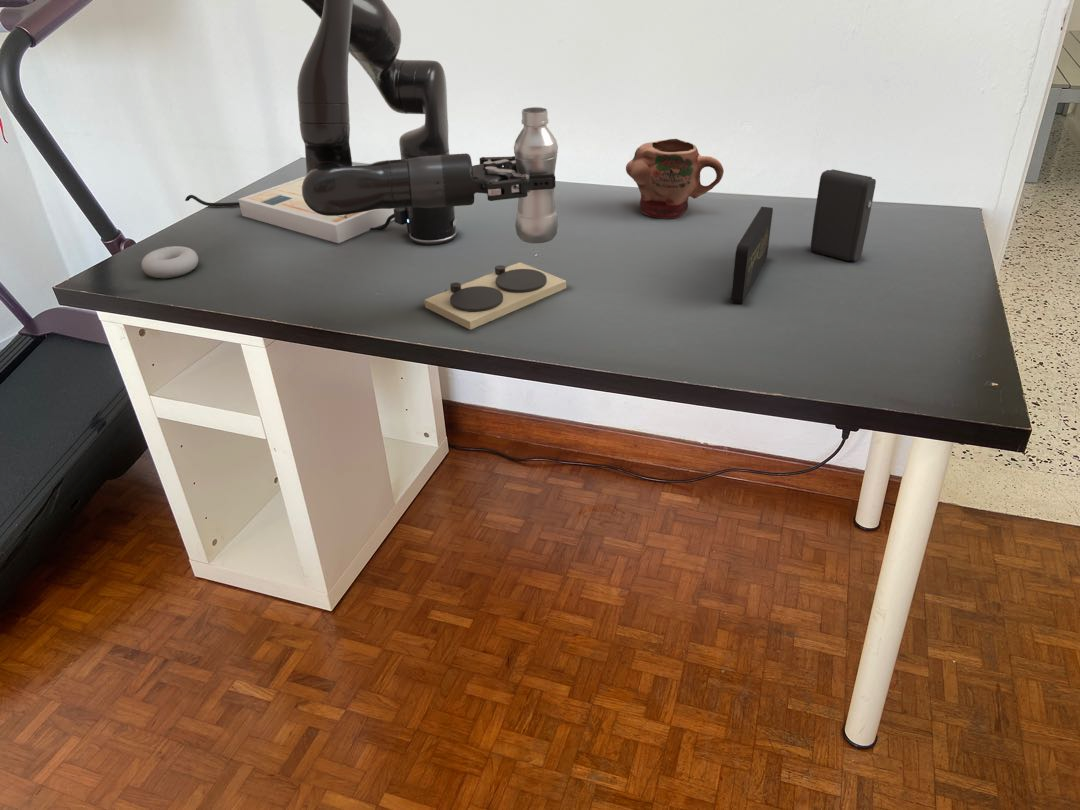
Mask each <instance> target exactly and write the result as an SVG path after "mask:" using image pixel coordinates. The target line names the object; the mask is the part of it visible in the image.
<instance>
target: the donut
mask: <svg viewBox="0 0 1080 810" xmlns="http://www.w3.org/2000/svg"><path fill="white" fill-rule="evenodd" d="M141 260H142V261H141V269H142V271H143V272H144V273H145V274H146V275H148V276H149V277H151V278H155V279H172V278H177V277H182V276H184V275H187V274H188V273H190V272H192V271H193V270H195V268H196V267H197V266H198V263H199V256H198V254H197V252H196V251H195V250H194V249H191V247H187V246H181V245H174V246H166V247H160V248H157V249H155V250H151V252H149V253H147V254H145V255H144V257H143V258H142V259H141Z"/></svg>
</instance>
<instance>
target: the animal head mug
mask: <svg viewBox="0 0 1080 810" xmlns="http://www.w3.org/2000/svg"><path fill="white" fill-rule="evenodd" d="M705 168H711V169H713V170H714V172H715V175H716V177H715V179H714V180H713V181H712V182H711V183H709V184H708V185H703V184H701V172H702V170H703V169H705ZM724 170H725V169H724V167H723V165H722V162H721V161H720V160H718V159H717V158H715V157H712V156H707V155H701V154H700V153H699V150H698V148H697V146H696V145H695V144H694V143H691V142H690V141H685V140H681V139H678V138H669V139H661V140H657V141H650V142H645V143H643V144H641V145H640V146H639V147H637V148H636V149H635V151H634V155H633V158H631V160H630V161H628V162H627V163H626V165H625V173H626V174H627V175H628V176H629V177H630V178H631V179H632V180H633V181H634V182H635V184H636V186H637V187H638V190H639V192H640V201H639V209H640V212H641V213H643V214H644V215H646V216H649V217H652V218H658V219H677V218H679V217H681V216H683V215H684V214H685V213H686V212H687V211H688V208H689V201H688V200H689V198H692V199H698V197H700V196H702V195H705V194H707V193H708V192H709V191H711V190H712V189H713V188H715V187H716V186H717V185H718V184H719V183H720V182H721V180H722V179H723V176H724V173H725V171H724Z"/></svg>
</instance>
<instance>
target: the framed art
mask: <svg viewBox="0 0 1080 810" xmlns="http://www.w3.org/2000/svg"><path fill="white" fill-rule="evenodd" d="M352 166H357V164H356V165H355V164H352ZM305 177H306V175H304V176H301V177H299V178H296V179H292V180H289V181H286V182H284V183H281V184H279V185H275V186H273V187H269V188H267V189H263V190H260V191H258V192H254V193H252V194H249V195H246V196H243V197H241V198H238V202H239V204H240V206H239V209H240V212H241V216H242V217H245V218H248V219H251V220H255V221H259V222H262V223H266V224H270V225H272V226H275V227H279V228H283V229H287V230H290V231H293V232H297V233H301V234H304V235H307V236H310V237H314V238H318V239H322V240H325V241H328V242H332V243H336V244H342V243H343V242H345V241H347V240H350V239H353V238H356V237H358V236H359V235H362V234H364V233H367V232H370V231H369V230H370V228H375V227H380V226H382V225H384V224H385V222H386V220H387V219H388V217H389V216H391V215H392V214H394V209H395V208H394V209H374V210H370V211H365V212H359V213H353V214H347V215H338V216H326V215H321V214H318V213H316V212H314V211H313V210H312V209H310V208H309V207H308V205H307V204H306V203H305V201H304V199H303V195H302V184H303V181H304V179H305ZM392 221H395V218H393V219H392V220H391V221H390V222H392Z"/></svg>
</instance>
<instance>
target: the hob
mask: <svg viewBox="0 0 1080 810" xmlns="http://www.w3.org/2000/svg"><path fill="white" fill-rule="evenodd" d="M449 287H450V289H447V290H445V291H443V292H440V293H437V294H435V295H432V296H429V297H427V298H425V299H424V308H425V309H427V310H430V311H431V312H433V313H435V314H436V315H437V314H438V315H440V317H441V316H442V317H443V318H445V319H448V320H449V321H451V322H454V323H455V324H458V325H460V326H461V327H464V328H465V329H468V330H469V331H472V330H473V329H475V328H478V327H480V326H482V325H485V324H487V323H491V322H492V321H494V320H497V319H498V318H501V317H503V316H506V315H508V314H510V313H513V312H515V311H517V310H520V309H523V308H524V307H526V306H529V305H532V304H534V303H536V302H538V301H540V300H543V299H545V298H548V297H549V296H552V295H554V294H557V293H559V292H561V291H563V290H566V289H567V280H566V279H563V278H561V277H559V276H556V275H553V274H550V273H549V272H546V271H543V270H541V269H538V268H535V267H533V266H531V265H528V264H525V263H523V262H520V261H519V262H517V263H514V264H511V265H508V266H505V265H502V264H498V265H495V267H494V271H493V272H490V273H489V274H486V275H483V276H481V277H478V278H475V279H473V280H471V281H467V282H466V283H463V284H462V283H461V282H455V281H454V282H451V283H450V285H449Z"/></svg>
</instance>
